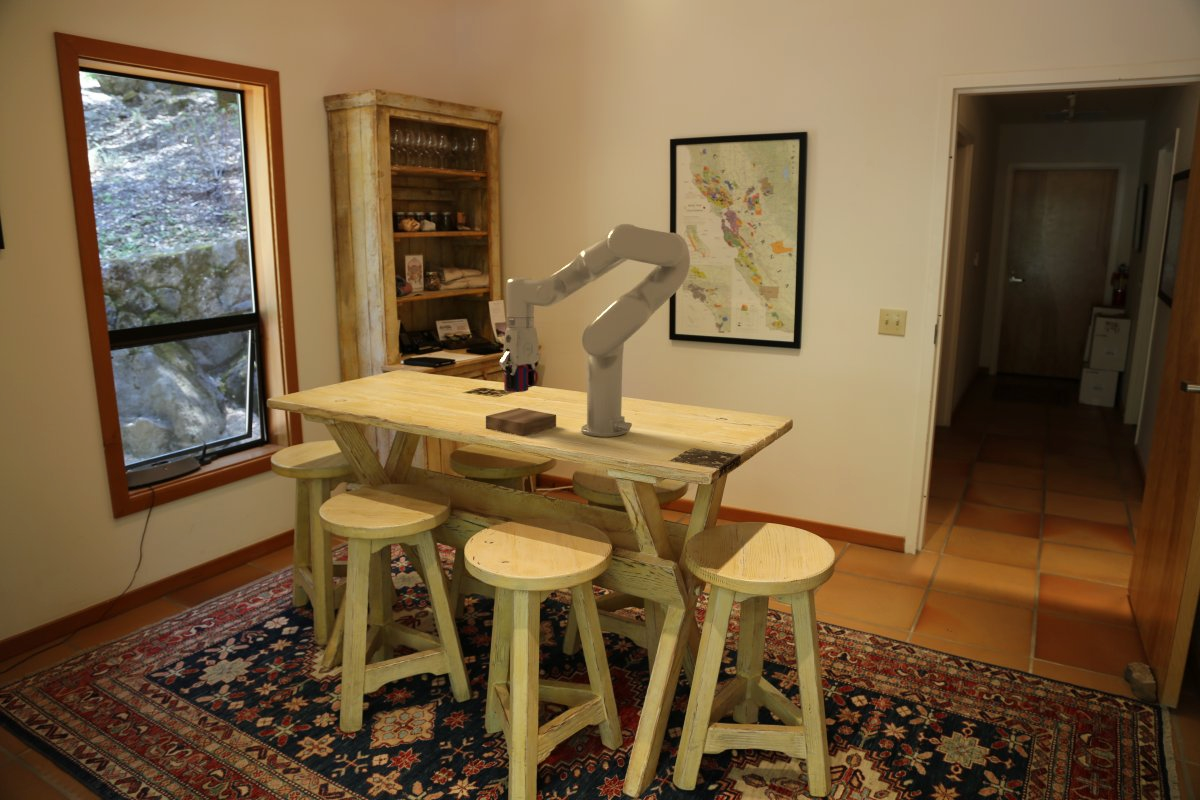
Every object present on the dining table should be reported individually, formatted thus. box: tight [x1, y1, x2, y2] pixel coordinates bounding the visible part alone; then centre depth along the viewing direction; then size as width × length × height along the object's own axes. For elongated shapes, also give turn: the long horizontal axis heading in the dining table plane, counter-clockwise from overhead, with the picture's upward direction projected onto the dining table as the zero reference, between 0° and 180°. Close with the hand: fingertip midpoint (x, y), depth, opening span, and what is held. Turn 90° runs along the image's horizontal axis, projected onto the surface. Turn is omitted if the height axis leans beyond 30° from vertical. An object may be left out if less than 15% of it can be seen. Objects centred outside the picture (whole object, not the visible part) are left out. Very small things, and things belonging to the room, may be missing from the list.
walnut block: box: [485, 407, 557, 437], centre depth 238 cm, size 14×14×4 cm
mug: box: [503, 365, 539, 393], centre depth 235 cm, size 7×10×7 cm
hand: (520, 386), depth 236 cm, fingers closed on mug, 6 cm apart
